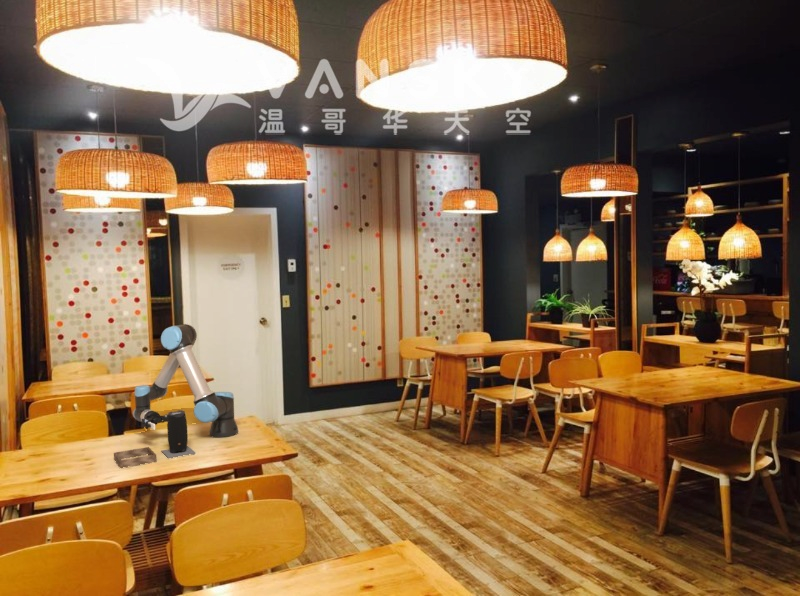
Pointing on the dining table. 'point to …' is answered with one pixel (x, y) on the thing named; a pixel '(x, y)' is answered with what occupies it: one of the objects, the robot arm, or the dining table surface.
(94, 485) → the dining table surface
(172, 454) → the rubber mat
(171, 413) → the portable speaker
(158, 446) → the dining table surface
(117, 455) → the walnut collar
